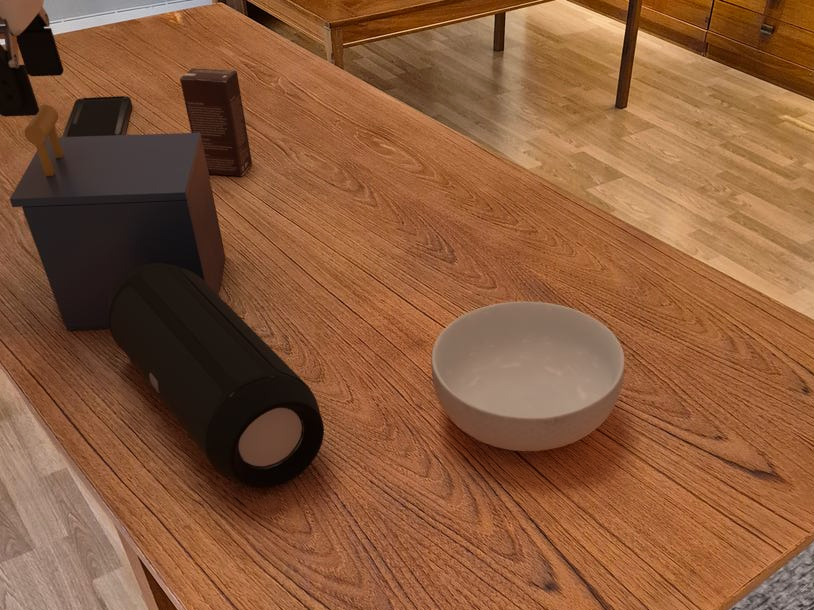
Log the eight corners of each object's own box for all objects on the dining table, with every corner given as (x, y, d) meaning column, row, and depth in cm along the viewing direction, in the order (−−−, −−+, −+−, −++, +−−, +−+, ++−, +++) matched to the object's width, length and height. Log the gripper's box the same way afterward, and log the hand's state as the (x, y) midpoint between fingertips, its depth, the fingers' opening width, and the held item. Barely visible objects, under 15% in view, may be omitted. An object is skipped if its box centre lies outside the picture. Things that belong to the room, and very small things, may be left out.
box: (253, 163, 119) (238, 69, 110) (242, 178, 115) (225, 82, 107) (210, 159, 119) (191, 65, 111) (197, 174, 116) (177, 78, 108)
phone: (131, 95, 132) (120, 136, 121) (133, 103, 133) (122, 144, 122) (75, 98, 131) (59, 139, 120) (77, 106, 132) (62, 147, 121)
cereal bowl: (446, 355, 88) (445, 293, 83) (615, 368, 86) (625, 306, 81) (418, 471, 75) (415, 406, 70) (615, 489, 74) (626, 424, 69)
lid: (12, 207, 80) (-11, 146, 76) (46, 145, 90) (28, 88, 86) (187, 200, 82) (173, 140, 78) (202, 140, 92) (190, 83, 88)
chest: (66, 331, 89) (21, 207, 80) (92, 262, 99) (55, 145, 90) (214, 323, 91) (187, 200, 82) (225, 256, 101) (202, 140, 92)
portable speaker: (115, 364, 86) (85, 272, 79) (211, 330, 90) (190, 240, 83) (231, 517, 71) (207, 421, 64) (339, 468, 75) (327, 373, 68)
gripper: (-57, -152, 74) (15, 62, 86) (-135, -111, 62) (-38, 134, 74) (36, -154, 75) (95, 60, 87) (-22, -113, 63) (56, 130, 74)
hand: (34, 93), depth 80 cm, fingers open, 9 cm apart
